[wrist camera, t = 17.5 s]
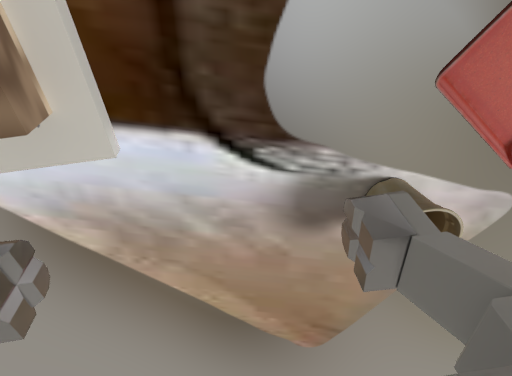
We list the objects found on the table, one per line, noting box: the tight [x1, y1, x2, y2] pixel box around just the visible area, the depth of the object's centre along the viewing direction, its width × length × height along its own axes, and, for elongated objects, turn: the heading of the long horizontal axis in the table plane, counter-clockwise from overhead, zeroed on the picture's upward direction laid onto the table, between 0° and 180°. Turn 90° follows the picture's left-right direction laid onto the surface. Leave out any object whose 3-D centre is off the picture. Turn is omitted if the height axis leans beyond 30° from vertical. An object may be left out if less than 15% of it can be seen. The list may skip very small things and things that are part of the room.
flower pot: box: [366, 178, 463, 238], centre depth 39 cm, size 9×9×9 cm
